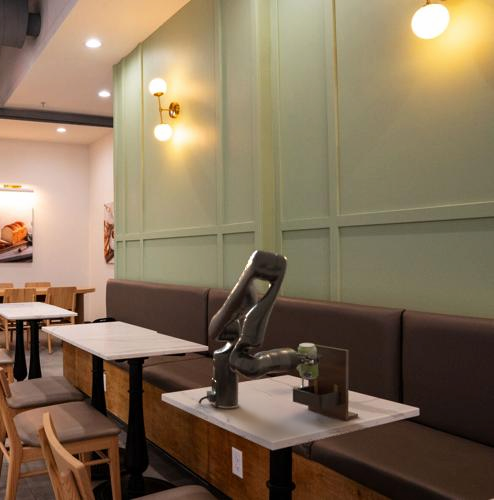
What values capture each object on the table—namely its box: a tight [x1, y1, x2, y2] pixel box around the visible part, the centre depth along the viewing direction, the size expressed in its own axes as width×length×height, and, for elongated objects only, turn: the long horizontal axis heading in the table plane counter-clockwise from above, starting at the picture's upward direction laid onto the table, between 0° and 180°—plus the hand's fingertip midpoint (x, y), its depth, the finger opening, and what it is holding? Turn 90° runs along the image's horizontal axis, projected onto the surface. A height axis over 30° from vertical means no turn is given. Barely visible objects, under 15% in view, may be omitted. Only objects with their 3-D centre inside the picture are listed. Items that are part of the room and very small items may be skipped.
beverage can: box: [297, 342, 319, 380], centre depth 176 cm, size 6×7×12 cm
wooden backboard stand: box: [292, 343, 359, 422], centre depth 180 cm, size 19×15×24 cm
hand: (312, 355), depth 177 cm, fingers closed on beverage can, 6 cm apart
